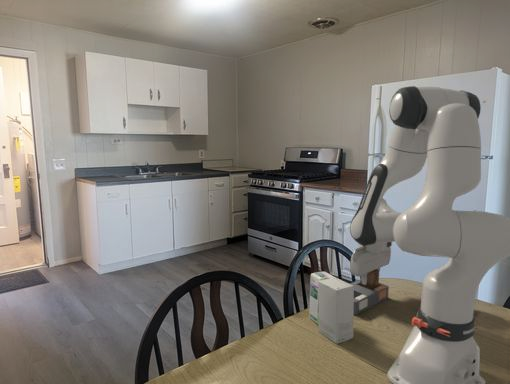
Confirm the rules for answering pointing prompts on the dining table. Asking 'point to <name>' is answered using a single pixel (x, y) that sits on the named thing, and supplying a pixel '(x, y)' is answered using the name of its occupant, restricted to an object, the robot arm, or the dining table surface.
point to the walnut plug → (371, 280)
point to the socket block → (368, 296)
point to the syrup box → (316, 293)
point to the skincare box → (336, 309)
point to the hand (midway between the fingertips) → (369, 281)
